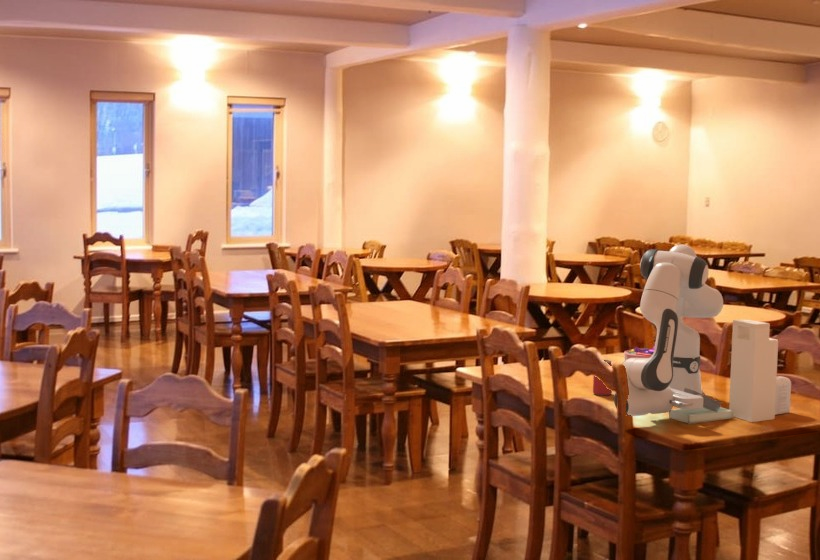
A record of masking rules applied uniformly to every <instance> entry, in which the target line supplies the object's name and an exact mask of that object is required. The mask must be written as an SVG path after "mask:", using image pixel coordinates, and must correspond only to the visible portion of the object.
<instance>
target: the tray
mask: <svg viewBox="0 0 820 560" xmlns="http://www.w3.org/2000/svg"><path fill="white" fill-rule="evenodd" d="M668 418H669V419H672V420H675V421H679V422H681V423H685V424H687V425H690V424H698V423H707V422H715V421H723V420H731V419H733V418H734V417H733V411H732V410H729V408H724V407H722V406H720V408H719V410H718V412H713V411H710V410H707V409H705V408H701V409H681V408H676V409H675V408H674V409H671V410H670V411H669V412H668Z"/></svg>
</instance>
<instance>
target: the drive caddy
mask: <svg viewBox="0 0 820 560" xmlns="http://www.w3.org/2000/svg"><path fill="white" fill-rule="evenodd" d="M684 392H686V393H690V394H693V395H694V394H699V395H702V397H703V408H705V409H707V410H710V411H713V412H718V410H719V408H720V407H721V404H722V402H721V401H718V400H716V399H715V398H712V397H709V396H707V395H705V394H703V393H702V394H700V393H698V392H696V391H694V390H690V389H687V388H685V389H684Z"/></svg>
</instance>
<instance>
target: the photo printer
mask: <svg viewBox="0 0 820 560" xmlns="http://www.w3.org/2000/svg"><path fill="white" fill-rule="evenodd" d="M791 392H792V381H791V379H790V378H788V377H785V376H781V375H780V376H777V378H776V399H775V416H776V415H782V414H789V413H790V411H791V395H792V394H791Z"/></svg>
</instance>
